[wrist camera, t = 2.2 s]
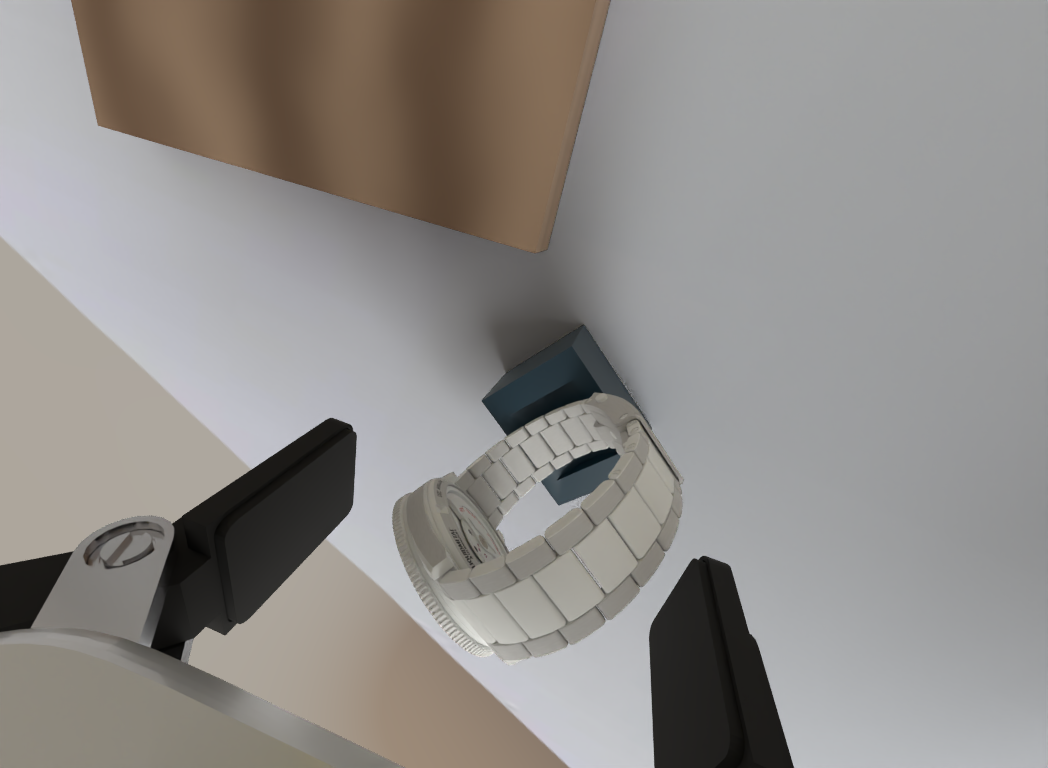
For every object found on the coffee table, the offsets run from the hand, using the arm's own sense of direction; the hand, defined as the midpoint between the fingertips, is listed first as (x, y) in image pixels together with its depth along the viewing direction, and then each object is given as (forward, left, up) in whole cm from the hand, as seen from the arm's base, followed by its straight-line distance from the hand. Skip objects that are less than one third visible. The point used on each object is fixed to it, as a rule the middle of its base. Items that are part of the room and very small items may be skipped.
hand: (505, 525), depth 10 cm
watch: (-1, 0, -9) cm, 9 cm away
